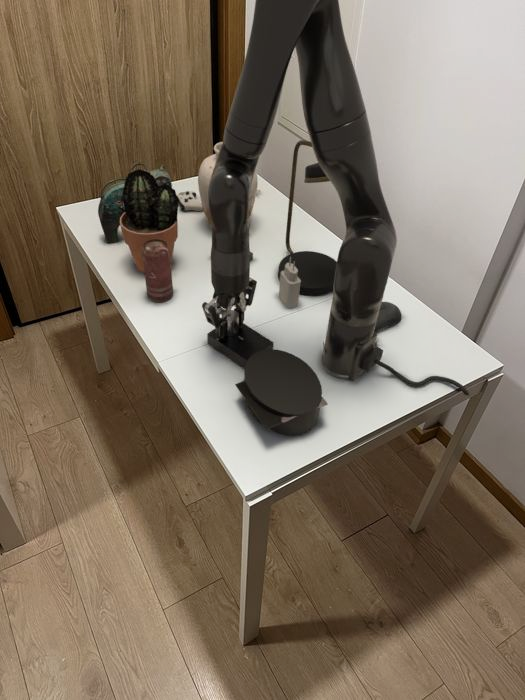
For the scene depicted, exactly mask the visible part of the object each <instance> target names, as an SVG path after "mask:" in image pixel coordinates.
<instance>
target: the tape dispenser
mask: <svg viewBox="0 0 525 700" xmlns="http://www.w3.org/2000/svg"><path fill="white" fill-rule="evenodd" d="M234 386H235V387H236V388H237V390H238V391H239V393H240V394H241V396H242V397H243V398H244V401H245V404H246V407H247V409H248V410H249V412H250V413H251V415H252V416H253V417H254V418H255V420H256V421H257V422H259V423H260V424H261V425H262V426H263V427H264V428H265V430H266V431H268V430H269V431H272V432H274V433H276V434H279V435H282V436H289V437H297V436H298V437H299V436H302V435H305V434H308V433H309V432H310V431H313V429H314V428H315V426H316V425H317V423H318V421H319V415H320V408H322V407H324V406H327V405H329V403H328V402H327V400H326V399H325V398H324V397H323V395H322V394H323V387H322V384H321V380H320V379H319V377H318V375H317V373H316V372H315V371H314V370H313V368H312V367H311V366H310V364H308V363H307V362H306V361H304V360H303V359H302V358H300V357H298V356H296V355H295V354H293V353H291V352H288V351H285V350H281V349H274V348H273V349H268V350H262V351H258V352H256V353H255V354H253V355H252V356H251V357H250V358H249V359H248V361H247V362H246V365H245V369H244V379H243V380H242V381H240V382H237V383H235V384H234Z"/></svg>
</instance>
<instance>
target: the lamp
mask: <svg viewBox="0 0 525 700" xmlns="http://www.w3.org/2000/svg"><path fill="white" fill-rule="evenodd" d="M301 146H307V147H310V148H313V147H312V143H311V140H305V139H300V140H298V141H297V142H296V144H295V146H294V149H293V153H292V155H293V156H292V164H291V165H292V166H291V176H290V187H289V198H288V206H287V207H288V208H287V219H286V231H285V247H286V250H287V252H288V253H289V254H287V255H285V257H283V258H282V259H281V260H280V262H279V263H278V270H277V278H278V281H279V282H280V275H281V271H284V270H285V265H286V263H289V262H290V257H291V263H292V264H293V263H294V261H295V264H294V265H295V267H296V268H297V269H298V275H297V276H298V278H299V279H300V280H301V283H300V291H299V295H300V296H307V297H319V296H325V295H328V294H331V293H334V291H333V284H334V278H335V271H336V265H337V260H335V259H334V258H333V257H331V256H329V255H327V254H325V253H321V252H318V251H313V250H312V251H311V250H302V251H295V252H294V251H293V250H292V248H291V247H292V246H291V241H290V238H291V230H292V229H291V227H292V218H293V206H294V197H295V185H296V177H297V175H296V174H297V165H298V157H299V150H300V147H301ZM328 182H331V181H330V180H329V179H328V177H327V176H326V174H325V173H324V171H323V170H322V168H321V166H320V165H319V163H318V162H315V163H313V164H309V165H307V166H305V169H304V181H303V183H305V184H316V183H317V184H318V183H328Z"/></svg>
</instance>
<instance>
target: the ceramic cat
mask: <svg viewBox="0 0 525 700" xmlns="http://www.w3.org/2000/svg"><path fill="white" fill-rule="evenodd" d="M139 165H141V166H143V167H144V169H143V170H144V171H147V172H150V174H151V175H153V176H154V178H155V180H156V182H157V184H158V186H161V185H163V184H167V185H168V186H170V187H171V188H172V189H173V183H172V180H171V179H172V178H171V177H170V175H169V173H168V172H167V168H166V166H165V165H163V164H162V165H161V166H160V168H157V169H153V170H150V171H149V170H148V168H147V166H146V165H145V164H144V163H142V162H135V163H134V164H132V166H131V170H134V168H135V167H136V166H139ZM125 180H126V178H121V177H120V178H115V179H112V180H110V181H108V182H106V183H105V184H104V185H103V186H102V188H101V192H100V196H99V199H100V200H99V203H98V206H97V207H98V208H97V214H98V218H99V222H100V225H101V230H102V232H103V235H104V237H105V240H106V242H107V244H114V243H118V242H119V241H120V238H119V228H120V227H121V226H120V217H121V216H122V214H123V213H125V206H124V200H123V196H122V193H123V189H124V185H125ZM117 181H120V182H118V183H115V182H117ZM113 183H114V184H113ZM110 184H111V185H110ZM109 185H110V186H109ZM107 186H109V187H108V188H106V187H107Z"/></svg>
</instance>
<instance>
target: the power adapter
mask: <svg viewBox="0 0 525 700" xmlns="http://www.w3.org/2000/svg"><path fill="white" fill-rule="evenodd" d="M294 264H295V261H294V263H293V264H292V263H291V257H290V262H289V263H286V265H285V270H284V271H281V275H280V281H279V287H278V290H279V291H278V299H279V300H280V302H282V304H283V305H284V308H286V309H293V308H297V307H298V306H299V299H300V294H299V291H300V283H301V280H300V279H299V278H298V276H297V275H298V269H297V268H296V267H295V265H294Z"/></svg>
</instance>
